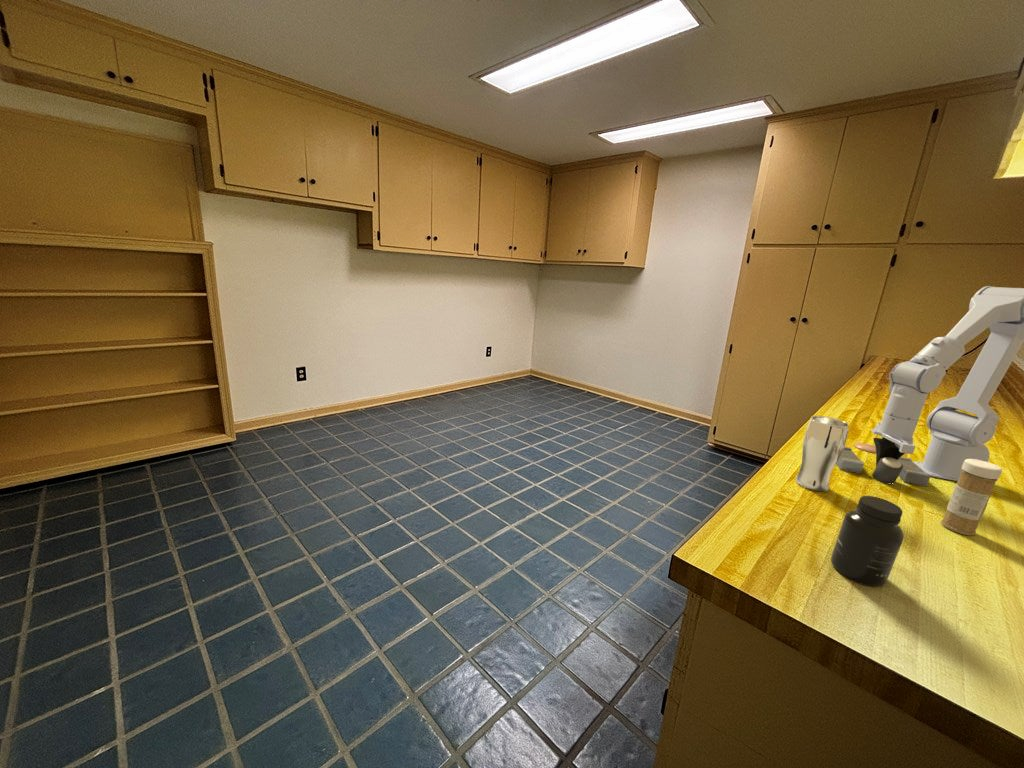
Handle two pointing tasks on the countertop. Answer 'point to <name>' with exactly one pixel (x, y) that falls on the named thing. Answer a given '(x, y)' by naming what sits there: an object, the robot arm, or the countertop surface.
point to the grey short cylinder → (887, 470)
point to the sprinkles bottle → (970, 496)
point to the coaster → (865, 447)
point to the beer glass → (821, 451)
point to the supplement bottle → (869, 541)
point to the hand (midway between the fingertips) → (882, 470)
